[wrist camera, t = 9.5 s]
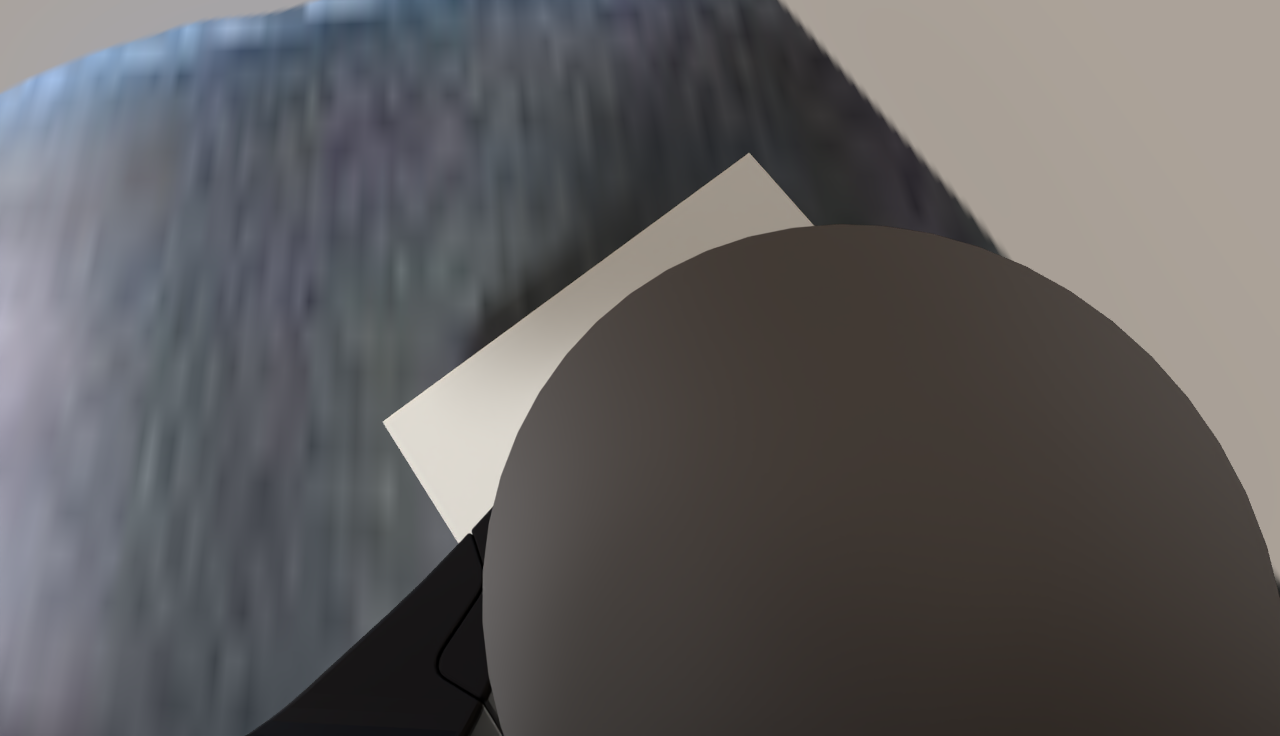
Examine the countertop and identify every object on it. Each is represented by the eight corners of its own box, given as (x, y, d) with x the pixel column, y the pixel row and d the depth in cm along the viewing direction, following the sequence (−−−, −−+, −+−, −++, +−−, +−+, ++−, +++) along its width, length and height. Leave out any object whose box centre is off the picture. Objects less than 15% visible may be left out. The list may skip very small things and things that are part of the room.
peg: (694, 562, 14) (804, 1273, 2) (616, 453, 15) (352, 499, 3) (799, 481, 15) (1486, 693, 2) (717, 378, 15) (895, 96, 3)
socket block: (987, 509, 17) (1084, 530, 13) (664, 761, 16) (660, 866, 12) (733, 213, 19) (749, 152, 15) (445, 426, 18) (382, 422, 14)
